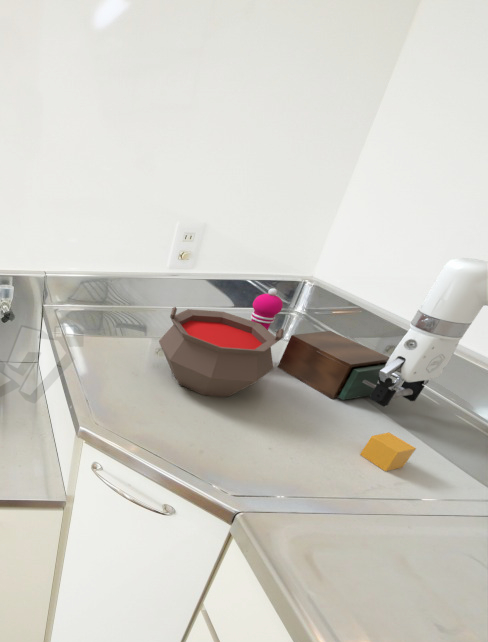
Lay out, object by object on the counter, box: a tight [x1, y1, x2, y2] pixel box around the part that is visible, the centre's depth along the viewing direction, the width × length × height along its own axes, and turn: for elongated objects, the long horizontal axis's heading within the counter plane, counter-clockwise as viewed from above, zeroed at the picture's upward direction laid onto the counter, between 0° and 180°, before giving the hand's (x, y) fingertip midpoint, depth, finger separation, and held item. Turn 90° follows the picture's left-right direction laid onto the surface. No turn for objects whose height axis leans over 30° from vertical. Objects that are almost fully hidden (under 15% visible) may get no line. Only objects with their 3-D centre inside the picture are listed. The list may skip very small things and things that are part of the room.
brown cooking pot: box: [158, 306, 285, 398], centre depth 96 cm, size 24×24×16 cm
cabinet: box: [277, 330, 390, 400], centre depth 101 cm, size 15×13×9 cm
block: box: [359, 432, 417, 472], centre depth 76 cm, size 4×4×4 cm
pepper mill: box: [250, 287, 284, 331], centre depth 104 cm, size 7×7×20 cm
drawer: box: [338, 363, 413, 401], centre depth 96 cm, size 20×11×7 cm, turn 16°
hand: (391, 399), depth 89 cm, fingers open, 7 cm apart
